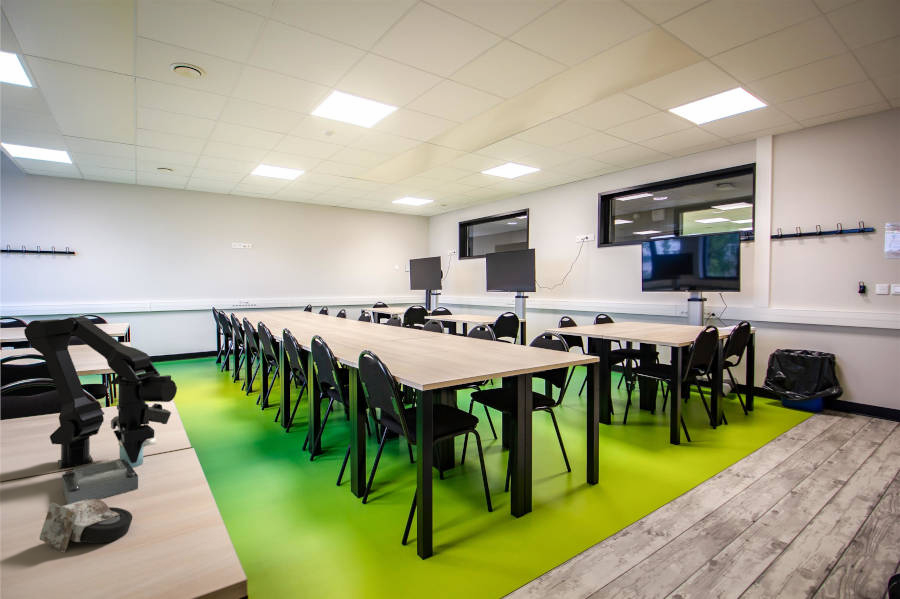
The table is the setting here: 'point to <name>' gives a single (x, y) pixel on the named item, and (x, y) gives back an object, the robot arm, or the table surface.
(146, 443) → the pump canister
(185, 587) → the table surface
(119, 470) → the grey metal socket plate
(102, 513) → the caster wheel
